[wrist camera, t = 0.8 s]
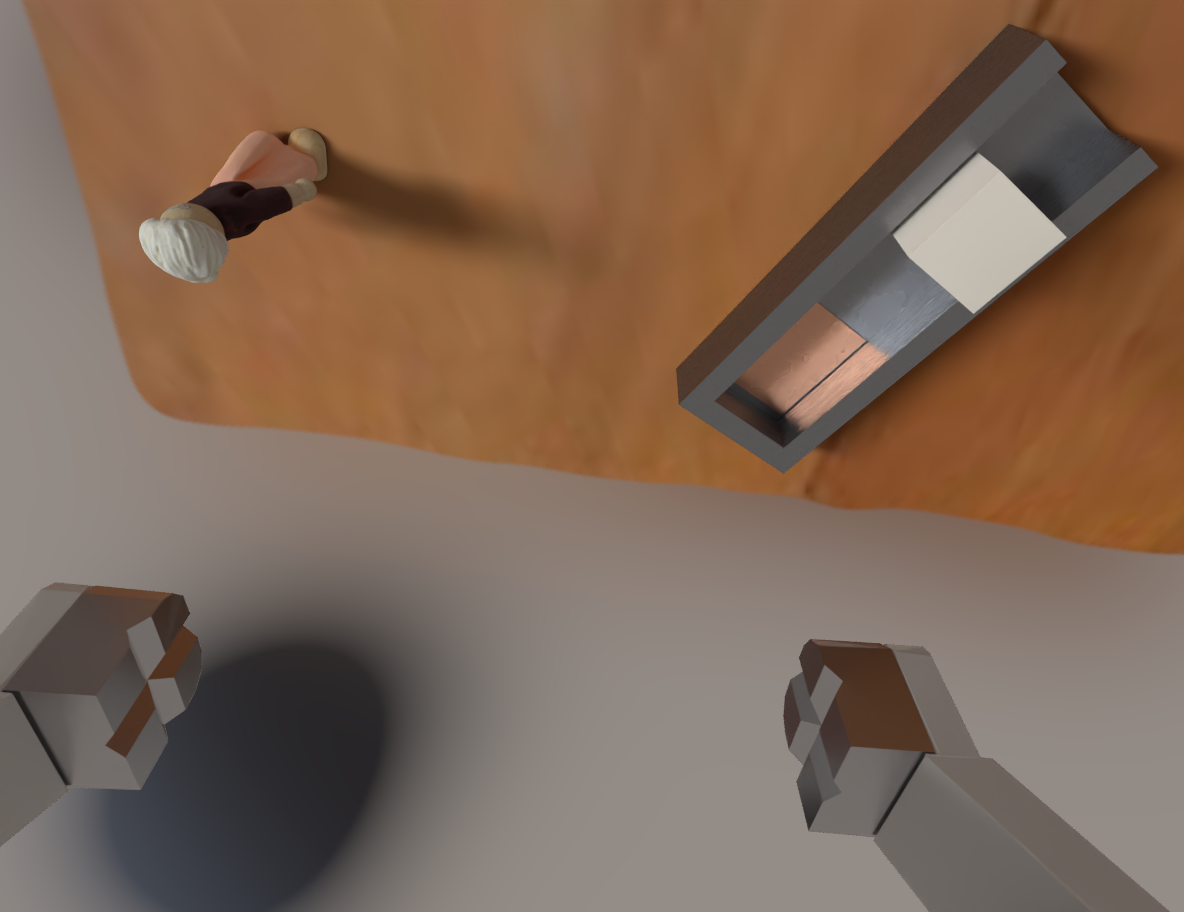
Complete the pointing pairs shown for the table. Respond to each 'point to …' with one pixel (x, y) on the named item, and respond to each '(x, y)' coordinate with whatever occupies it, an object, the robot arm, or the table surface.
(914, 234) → the block
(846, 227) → the chute
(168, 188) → the table surface
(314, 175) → the grandmother figurine
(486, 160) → the table surface
